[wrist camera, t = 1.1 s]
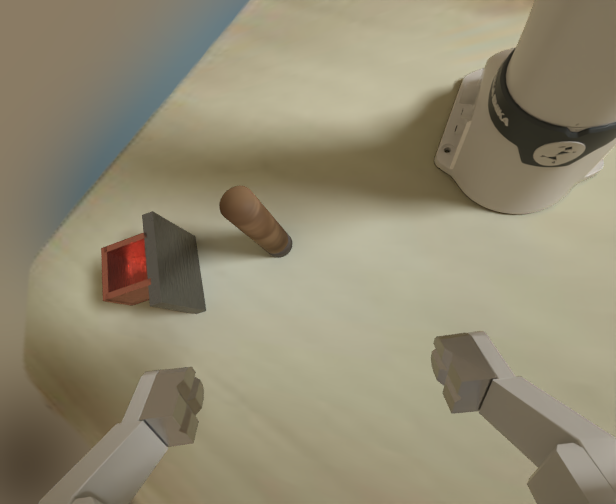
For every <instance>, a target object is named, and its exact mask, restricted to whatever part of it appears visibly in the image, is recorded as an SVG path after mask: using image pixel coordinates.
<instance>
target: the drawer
mask: <svg viewBox="0 0 616 504" xmlns="http://www.w3.org/2000/svg"><path fill="white" fill-rule="evenodd" d="M142 219H143V230H144V233H141V234H139V235H136V236H133V237H131V238H128V239H125V240H122V241H120V242H117V243H114V244H112V245H109V246H106V247H103V248H101V254H102V285H103V301H106V302H113V303H119V304H126V305H135V304H138V303H141V302H144V301H147V300H149V301H150V306H152V307H158V308H164V309H170V310H177V311H183V312H189V313H195V314H198V313H201V312H204V311H206V307H205V300H204V293H203V286H202V280H201V273H200V266H199V259H198V253H197V246H196V239H195V236H194V235H192V234H190V233H189V232H187V231H185V230H184V229H182V228H180V227H178V226H177V225H175V224H173V223H172V222H170V221H168V220H166V219H165V218H163V217H161V216H160V215H158V214H156V213H154V212H153V211H152V212H150V213H147V214H144V215H142Z"/></svg>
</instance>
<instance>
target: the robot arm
mask: <svg viewBox="0 0 616 504" xmlns="http://www.w3.org/2000/svg"><path fill="white" fill-rule="evenodd" d="M615 146H616V0H535V1H534V3H533V6H532V9H531V12H530V14H529V17H528V20H527V22H526V25H525V27H524V30H523V32H522V35H521V37H520V39H519V42H518V44H517V46H516V48H512V49H508V50H504V51H501V52H499V53H497V54H495V55H493V56H492V57H490V58H489V59H488V60H487V62H486V65H485V67H484V68H482V69H479V70H476V71H474V72H471V73H469V74H467V75H466V76H465V77H464V79H463V81H462V83H461V85H460V88H459V91H458V94H457V96H456V99H455V102H454V105H453V108H452V111H451V113H450V116H449V119H448V122H447V125H446V127H445V130H444V133H443V136H442V139H441V142H440V144H439V147H438V150H437V153H436V156H435V159H434V162H435V164H436V166H437V167H438V168H440V169H441V170H443V171H444V172H446V173H447V174H449V175H451V176H452V177H453V179H454V180H455V181H456V183H457V184H458V186H459V187H460V188H461V190H462V191H463V192H464V193H465V194H466V195H467V196H468V197H469V198H470V199H472V200H473V201H475V202H476V203H478V204H479V205H481V206H483V207H486V208H488V209H491V210H494V211H497V212H502V213H509V214H526V213H532V212H537V211H540V210H543V209H546V208H548V207H550V206H552V205H554V204H556V203H557V202H559V201H560V200H561V199H563V198H564V197H565V196H566V195H567V194H568V193H569V192H570V190H571V189H572V188H573V187H574V186H575V185H577V184H578V183H580V182H582V181H585V180H587V179H589V178H591V177H593V176H595V175H596V174H597V173H598V172H599V171H600V170H601V169H602V168H603V166H604V161H603V158H604V157H605V156H606V155H607V154H608V153H609V152H610V151H611V150H612V149H613V148H614V147H615ZM446 150H447V151H449V153H446V152H445V151H446ZM433 344H434V346H435V348H436V349H434V350H433V351H432V354H431V364H432V368H433V372H434V374H435V377H436V379H437V381H439V382H440V383H441V384H443V385H444V389H443V395H444V398H445V400H446V402H447V404H448V407H449V409H450V411H451V413H463V412H475V411H479V413H480V414H481V415H482V416H483V417H484V418H485V419H486V420H487V421H488V422H489V423H490V424H492V425H493V426H494V427H495V428H496V429H497V430H498V431H499V432H500V433H501V434H502V435H503V436H505V437H506V438H507V439H508V440H509V441H510V442H511V443H512V444H513V445H514V446H515V447H517V448H518V449H519V450H520V451H521V452H522V453H523V454H524V455H525V456H526V457H527V458H528V459H530V460H531V461H532V462H533V463H534V464H535V465H536V466H537V467H538V468H537V470H536V471H535V472H534V473H533V474H532V476H531V477H530V478H529V480H528V483H527V485H528V487H529V489H530V491H531V493H532V495H533V497H534V499H535V501H536V502H537V504H616V438H615V437H614V436H612V435H611V434H609V433H608V432H606V431H605V430H603V429H602V428H600V427H599V426H597V425H595V424H594V423H592V422H591V421H589V420H588V419H586V418H585V417H583V416H582V415H580V414H578V413H577V412H575V411H574V410H572V409H571V408H569V407H568V406H566V405H565V404H563V403H562V402H560V401H558V400H557V399H555V398H554V397H552V396H551V395H549V394H548V393H546V392H545V391H543V390H541V389H540V388H538V387H537V386H535V385H534V384H532V383H531V382H529V381H528V380H526V379H524V378H523V377H521V376H515V374H514V373H513V372H512V370H511V369H510V367H509V366H508V364H507V363H506V361H505V360H504V358H503V357H502V355H501V354H500V352H499V351H498V349H497V348H496V346H495V345H494V343H493V342H492V341H491V339H490V338H489V336H488V335H487V333H485V332H484V331H477V332H470V333H459V334H452V335H444V336H437V337H436V338H435V339H434V343H433ZM195 373H196V372H195V370H194V369H193V367H184V368H175V369H166V370H156V371H147V372H145V373H144V374H143V375H142V376H141V378H140V380H139V383H138V385H137V387H136V390H135V392H134V394H133V397H132V399H131V401H130V403H129V406H128V408H127V410H126V413H125V415H124V417H123V420H122V422H121V423H117V424H116V425H115V426H114V427H113V428H112V429H111V430H110V431H109V432H108V433H107V434H106V435H105V436H104V437H103V438H102V439H101V440H100V441H99V442H98V443H97V444H96V445H95V446H94V447H93V448H92V449H91V450H90V451H89V452H88V453H87V454H86V455H85V456H84V457H83V458H82V459H81V460H80V461H79V462H78V463H77V464H76V465H75V466H74V467H73V468H72V469H71V470H70V471H69V472H68V473H67V474H66V475H65V476H64V477H63V478H62V479H61V480H60V481H59V482H58V483H57V484H56V485H55V486H54V487H53V488H52V489H51V490H50V491H49V492H48V493H47V494H46V495H45V496H44V497H43V498H42V499H41V500H40V501H39V503H38V504H129V503H130V502H131V500H132V499H133V498H134V496H135V495H136V493H137V492H138V491H139V489H140V488H141V486H142V485H143V484H144V482H145V481H146V479H147V478H148V476H149V475H150V474H151V472H152V471H153V469H154V468H155V467H156V465H157V464H158V462H159V461H160V459H161V458H162V457H163V455H164V454H165V452H166V451H167V450H168V448H167V447H171V446H178V445H185V444H192V443H194V440H195V435H196V431H197V427H198V422H199V421H198V419H197V417H196V414H197V413H198V412H199V411H200V409H201V408H202V405H203V400H204V389H203V384H202V382H201V380H200V379H198V378H196V377H195Z"/></svg>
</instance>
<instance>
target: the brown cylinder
mask: <svg viewBox="0 0 616 504" xmlns="http://www.w3.org/2000/svg"><path fill="white" fill-rule="evenodd" d="M220 211H221V214H222V215H223V216H224V217H225V218H226V219H227V220H229V221H230V222H231V223H232V224H234V225H235V226H236V227H237V228H239V229H240V230H241V231H242V232H243V233H245V234H246V235H247V236H248V237H250V238H251V239H252V240H253V241H255V242H256V243H257V244H258V245H259V246H261V247H262V248H263V249H264V250H266V251H267V252H268V253H269V254H270V255H272V256H274V257H278V258H279V257H283V256H285V255H287V254H288V253H289V252H290V250H291V248H292V240H291V238H290V236H289V235H288V234H287V233H286V231H285V230H284V229H283V228H282V227H281V226H280V224H279V223H278V222H277V221H276V220H275V218H274V217H273V216H272V215H271V214H270V212H269V211H268V210H267V209H266V208H265V207H264V205H263V204H262V203H261V202H260V201H259V199H258V198H257V197H256V196H255V195H254V194H253V192H252V191H251V190H250V189H249V188H247V187H245V186H235V187H232V188H230V189H229V190H228V191H226V192H225V193H224V195H223V196H222V198H221V201H220Z"/></svg>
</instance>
